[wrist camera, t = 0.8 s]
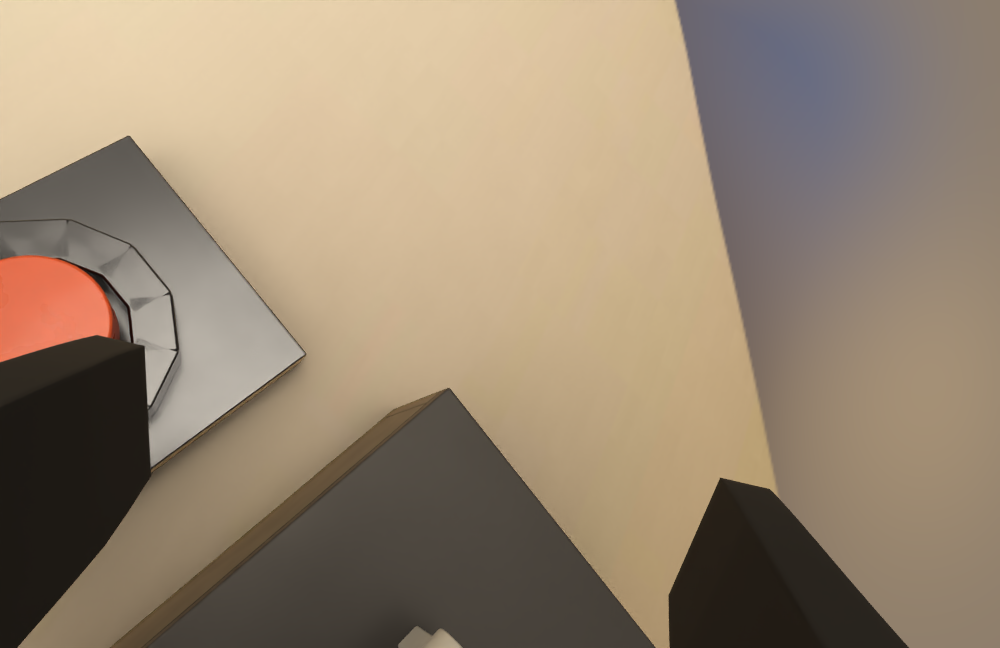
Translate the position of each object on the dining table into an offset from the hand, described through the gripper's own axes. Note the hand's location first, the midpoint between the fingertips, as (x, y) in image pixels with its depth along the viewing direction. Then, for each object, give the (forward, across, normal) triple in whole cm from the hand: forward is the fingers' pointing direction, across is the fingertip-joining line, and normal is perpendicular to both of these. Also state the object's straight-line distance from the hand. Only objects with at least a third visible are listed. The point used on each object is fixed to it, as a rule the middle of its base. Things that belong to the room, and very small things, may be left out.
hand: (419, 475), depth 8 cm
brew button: (+8, +12, +5) cm, 15 cm away
